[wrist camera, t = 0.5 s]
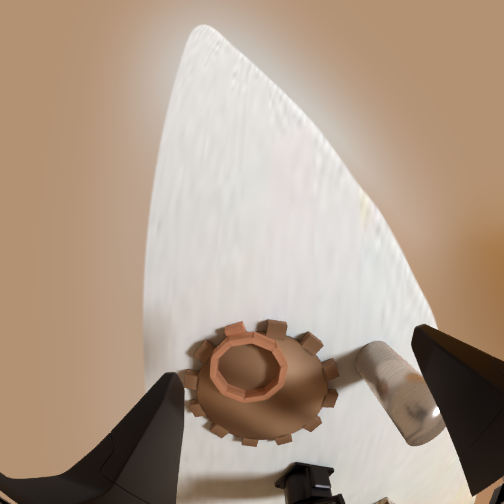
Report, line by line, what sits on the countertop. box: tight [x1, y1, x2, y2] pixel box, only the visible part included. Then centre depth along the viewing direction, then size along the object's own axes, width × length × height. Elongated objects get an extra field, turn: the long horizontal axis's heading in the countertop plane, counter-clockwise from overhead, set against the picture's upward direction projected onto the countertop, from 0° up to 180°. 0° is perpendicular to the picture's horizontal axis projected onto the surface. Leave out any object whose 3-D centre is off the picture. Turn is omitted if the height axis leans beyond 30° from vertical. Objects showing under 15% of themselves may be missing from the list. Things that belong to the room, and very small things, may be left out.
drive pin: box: [356, 341, 446, 446], centre depth 20 cm, size 4×4×13 cm
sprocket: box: [184, 319, 339, 447], centre depth 25 cm, size 16×16×3 cm
